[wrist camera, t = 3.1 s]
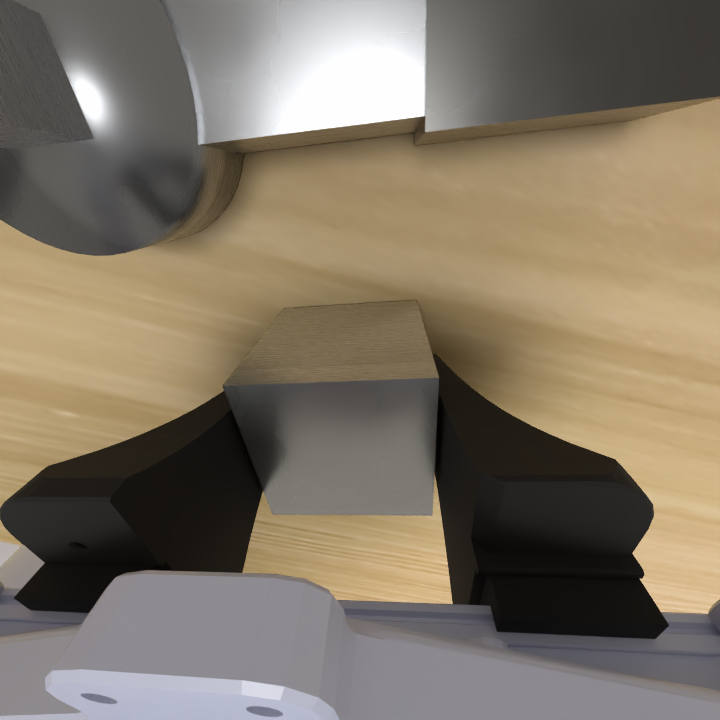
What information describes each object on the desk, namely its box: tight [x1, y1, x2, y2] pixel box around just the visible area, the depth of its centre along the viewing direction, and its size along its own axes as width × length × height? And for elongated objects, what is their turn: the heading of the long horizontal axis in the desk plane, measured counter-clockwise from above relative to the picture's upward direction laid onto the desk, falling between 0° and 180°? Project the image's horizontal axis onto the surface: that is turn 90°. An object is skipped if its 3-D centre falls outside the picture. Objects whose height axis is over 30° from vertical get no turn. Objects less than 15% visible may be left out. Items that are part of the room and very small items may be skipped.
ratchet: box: [0, 0, 720, 256], centre depth 6 cm, size 18×7×6 cm, turn 95°
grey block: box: [223, 300, 439, 516], centre depth 11 cm, size 5×5×5 cm
